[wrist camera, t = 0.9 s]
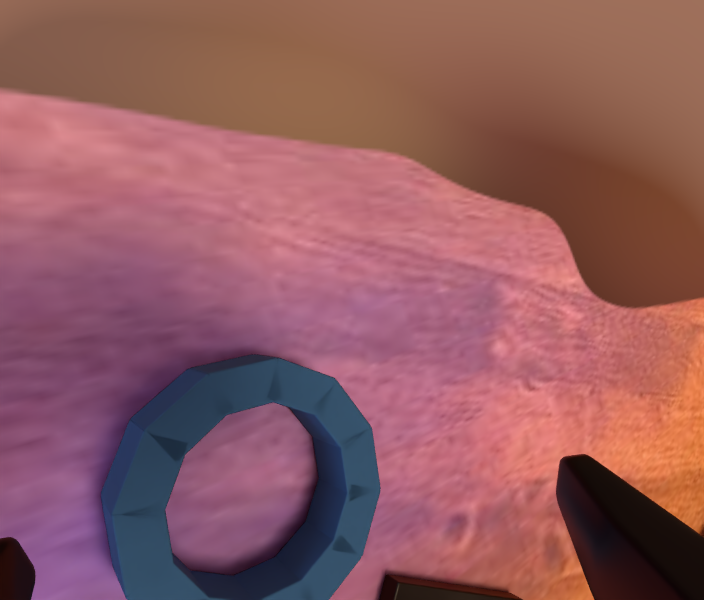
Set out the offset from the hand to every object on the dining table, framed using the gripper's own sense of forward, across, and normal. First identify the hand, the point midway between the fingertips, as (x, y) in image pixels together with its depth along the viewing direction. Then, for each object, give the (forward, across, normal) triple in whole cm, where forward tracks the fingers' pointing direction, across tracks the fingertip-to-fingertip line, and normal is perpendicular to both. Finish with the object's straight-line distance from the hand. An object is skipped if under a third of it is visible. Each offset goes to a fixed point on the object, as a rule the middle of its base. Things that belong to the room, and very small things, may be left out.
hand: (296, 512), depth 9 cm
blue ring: (+9, +4, +9) cm, 14 cm away
